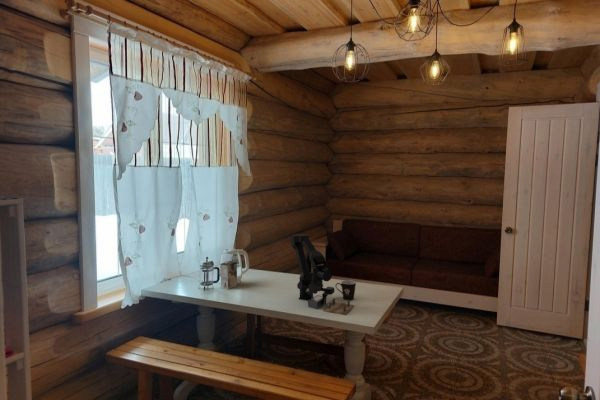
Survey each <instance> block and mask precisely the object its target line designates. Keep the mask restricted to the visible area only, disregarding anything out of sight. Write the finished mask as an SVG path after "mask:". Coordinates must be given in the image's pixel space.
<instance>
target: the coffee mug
mask: <svg viewBox="0 0 600 400" xmlns="http://www.w3.org/2000/svg"><path fill="white" fill-rule="evenodd" d="M356 284H357V282H356V281H355V280H352V279H343V280H342V281H341V283H340V282H337V283H336V284H335V289H337V291H338V292H340V293H341V294H342V299H343V300H344V301H353V300H354V299H355V295H356V292H355V291H356ZM337 285H340V286H341V290H340V289H339V288H338V287H337Z"/></svg>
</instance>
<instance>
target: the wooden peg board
mask: <svg viewBox="0 0 600 400" xmlns="http://www.w3.org/2000/svg"><path fill="white" fill-rule="evenodd" d="M350 301H351V300H347V303H344V302H338V301H336V298H332V301H331V302H328V305H327V306H325V308H323V312H324V313H325V312H326V313H331V314H338V315H341V316H343V315H344V316H347V315H348V314H349V313H350V312H351V310H352V309H354V308H355V304H351V302H350Z"/></svg>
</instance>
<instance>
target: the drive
mask: <svg viewBox="0 0 600 400" xmlns="http://www.w3.org/2000/svg"><path fill="white" fill-rule="evenodd" d="M322 298H323V296H322V295H320V294H318V295H315V296H313V298H311V299H309V300H307V307H308V308H310V309H314V310H318V309H320V308H322V307H323V306H325V305H327V298H326V299H325V302H324V304H323V305H322Z"/></svg>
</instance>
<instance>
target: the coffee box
mask: <svg viewBox="0 0 600 400" xmlns="http://www.w3.org/2000/svg"><path fill="white" fill-rule="evenodd" d="M237 286H238V261H233V260H228V261H225V262H222V263H220V288H221V289H225V290H230V289H232V288H234V287H237Z"/></svg>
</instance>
